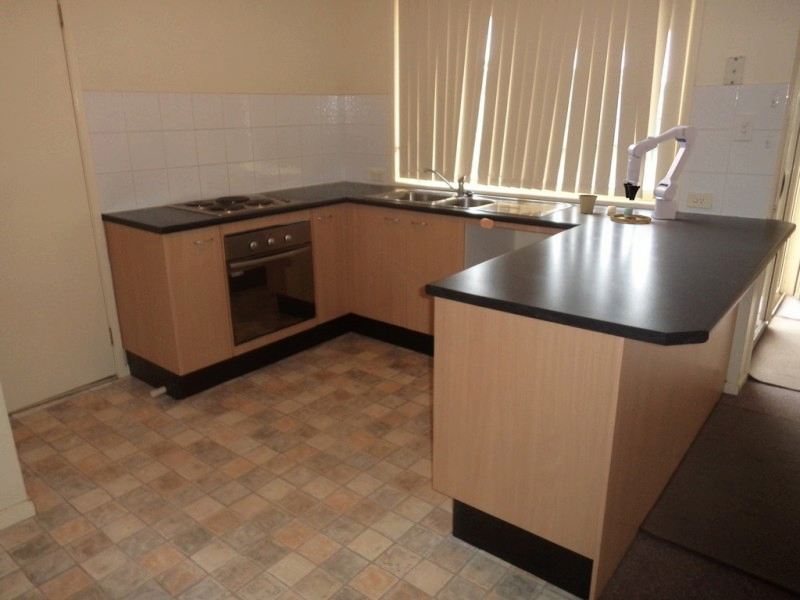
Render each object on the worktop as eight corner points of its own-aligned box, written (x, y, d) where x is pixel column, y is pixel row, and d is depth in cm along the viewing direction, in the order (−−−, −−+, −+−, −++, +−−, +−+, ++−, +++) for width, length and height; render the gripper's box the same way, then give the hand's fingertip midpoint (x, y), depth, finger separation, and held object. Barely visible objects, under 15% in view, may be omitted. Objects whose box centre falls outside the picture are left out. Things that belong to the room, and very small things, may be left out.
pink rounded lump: (485, 229, 261) (480, 227, 265) (493, 228, 262) (487, 226, 266) (486, 220, 260) (480, 218, 263) (493, 219, 261) (487, 217, 265)
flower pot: (573, 211, 310) (574, 194, 307) (588, 210, 313) (590, 194, 310) (583, 214, 301) (585, 197, 299) (599, 213, 304) (601, 196, 302)
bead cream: (614, 215, 301) (615, 206, 299) (616, 216, 297) (617, 207, 296) (606, 214, 301) (607, 205, 300) (607, 216, 297) (608, 207, 296)
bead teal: (630, 217, 291) (632, 207, 290) (632, 218, 288) (634, 209, 286) (622, 216, 292) (623, 207, 291) (624, 218, 288) (625, 208, 287)
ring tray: (645, 218, 292) (645, 213, 292) (654, 224, 275) (655, 219, 275) (606, 216, 295) (607, 212, 294) (614, 223, 278) (614, 218, 277)
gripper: (621, 168, 291) (618, 197, 295) (628, 171, 277) (624, 201, 281) (636, 169, 290) (633, 197, 294) (643, 171, 276) (640, 201, 280)
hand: (629, 199), depth 287 cm, fingers open, 7 cm apart
